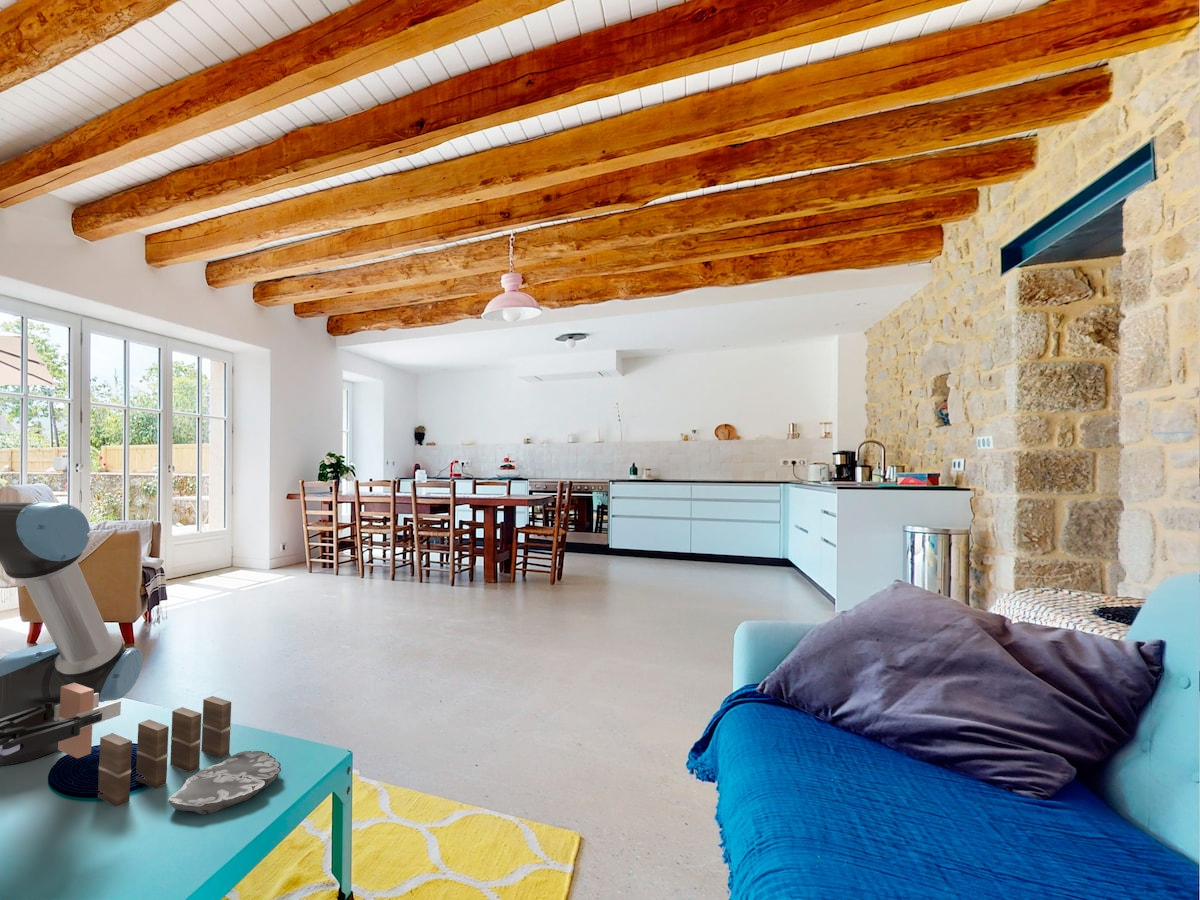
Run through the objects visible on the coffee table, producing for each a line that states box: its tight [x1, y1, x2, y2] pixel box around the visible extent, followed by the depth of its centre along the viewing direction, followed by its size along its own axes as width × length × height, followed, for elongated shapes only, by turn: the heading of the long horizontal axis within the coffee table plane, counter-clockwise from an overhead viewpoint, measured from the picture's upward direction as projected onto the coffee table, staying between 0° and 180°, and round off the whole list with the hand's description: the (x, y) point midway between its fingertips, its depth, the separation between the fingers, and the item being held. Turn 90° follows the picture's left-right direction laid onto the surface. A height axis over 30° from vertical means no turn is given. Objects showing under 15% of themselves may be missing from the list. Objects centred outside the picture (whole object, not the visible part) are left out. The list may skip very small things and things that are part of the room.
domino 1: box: [57, 683, 94, 759], centre depth 103 cm, size 2×7×12 cm, turn 67°
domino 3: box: [135, 719, 170, 790], centre depth 114 cm, size 2×7×12 cm, turn 67°
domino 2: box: [97, 732, 133, 808], centre depth 108 cm, size 2×7×12 cm, turn 67°
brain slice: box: [168, 750, 282, 815], centre depth 112 cm, size 20×17×3 cm
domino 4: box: [169, 706, 202, 773], centre depth 120 cm, size 2×7×12 cm, turn 67°
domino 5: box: [200, 695, 232, 759], centre depth 126 cm, size 2×7×12 cm, turn 67°
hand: (108, 703), depth 107 cm, fingers closed on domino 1, 7 cm apart
